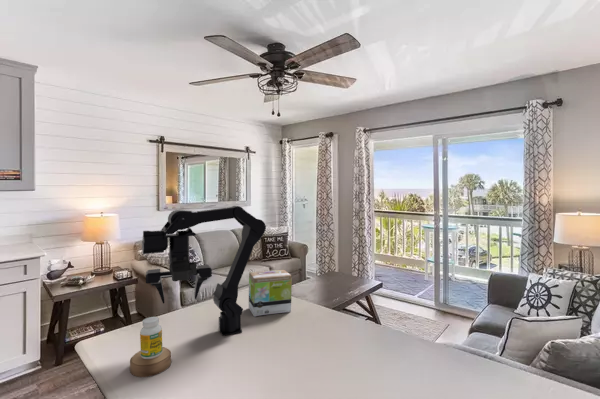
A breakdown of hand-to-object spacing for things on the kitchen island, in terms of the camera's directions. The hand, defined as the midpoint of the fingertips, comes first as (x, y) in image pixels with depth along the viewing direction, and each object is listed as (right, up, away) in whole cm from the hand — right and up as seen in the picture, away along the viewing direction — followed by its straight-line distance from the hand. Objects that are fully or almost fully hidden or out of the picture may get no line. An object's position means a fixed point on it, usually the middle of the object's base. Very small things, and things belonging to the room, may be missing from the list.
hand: (179, 301), depth 98 cm
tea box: (+25, -13, +27) cm, 39 cm away
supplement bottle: (-3, -11, -13) cm, 17 cm away
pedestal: (-3, -13, -13) cm, 19 cm away
